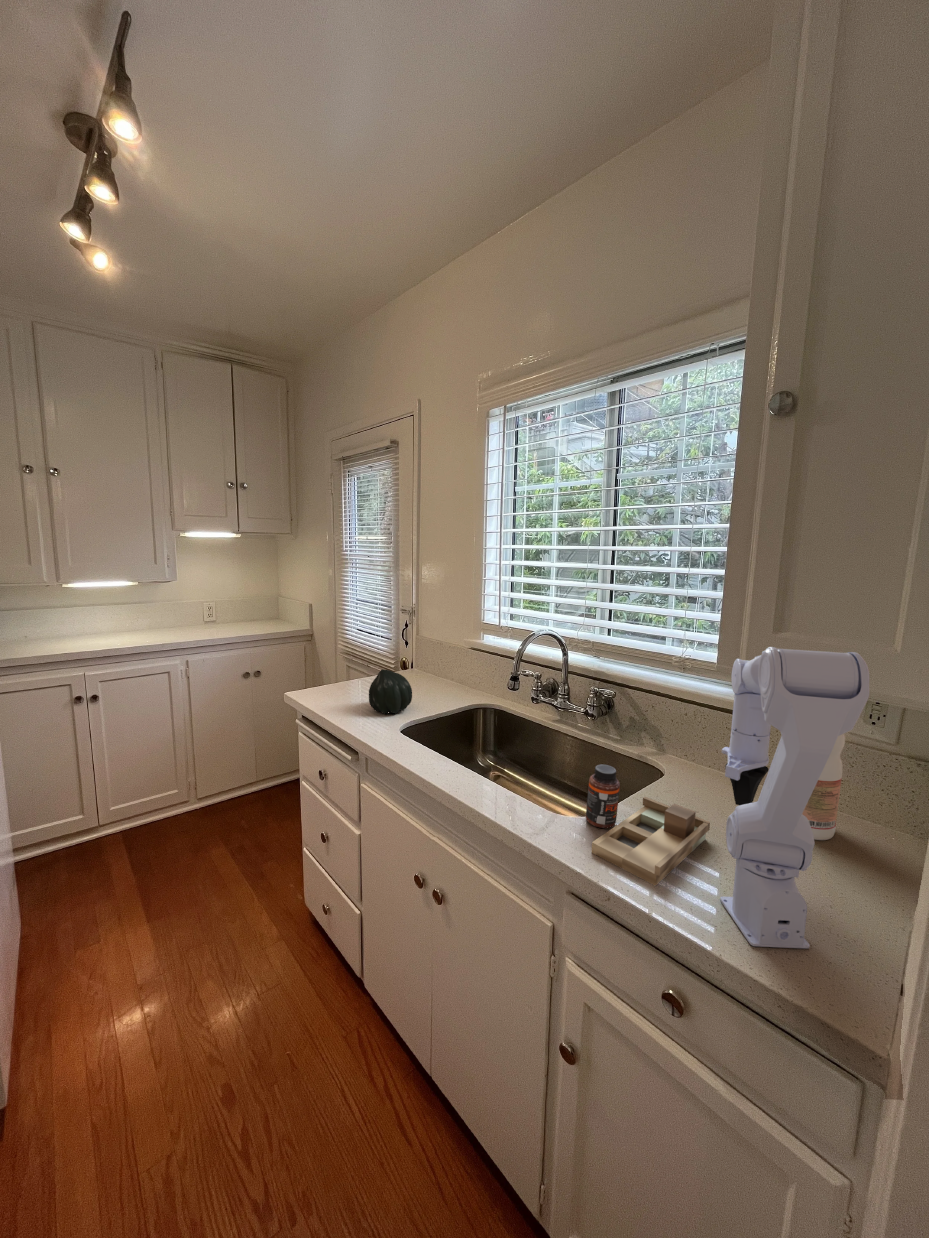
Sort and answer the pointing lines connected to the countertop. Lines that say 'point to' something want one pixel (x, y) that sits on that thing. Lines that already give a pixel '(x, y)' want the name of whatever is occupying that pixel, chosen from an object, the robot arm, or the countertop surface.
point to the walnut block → (679, 821)
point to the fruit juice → (826, 795)
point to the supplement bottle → (603, 797)
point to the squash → (390, 692)
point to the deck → (648, 843)
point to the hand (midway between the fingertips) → (743, 805)
